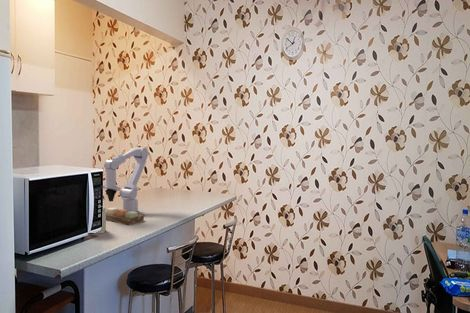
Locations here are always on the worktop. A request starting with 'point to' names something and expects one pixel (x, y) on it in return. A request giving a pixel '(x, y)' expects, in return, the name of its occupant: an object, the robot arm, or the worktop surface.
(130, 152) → the robot arm
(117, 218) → the slotted board
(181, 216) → the worktop surface
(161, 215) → the worktop surface
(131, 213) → the block
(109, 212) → the ivory cube
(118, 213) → the salmon pink cube
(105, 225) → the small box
